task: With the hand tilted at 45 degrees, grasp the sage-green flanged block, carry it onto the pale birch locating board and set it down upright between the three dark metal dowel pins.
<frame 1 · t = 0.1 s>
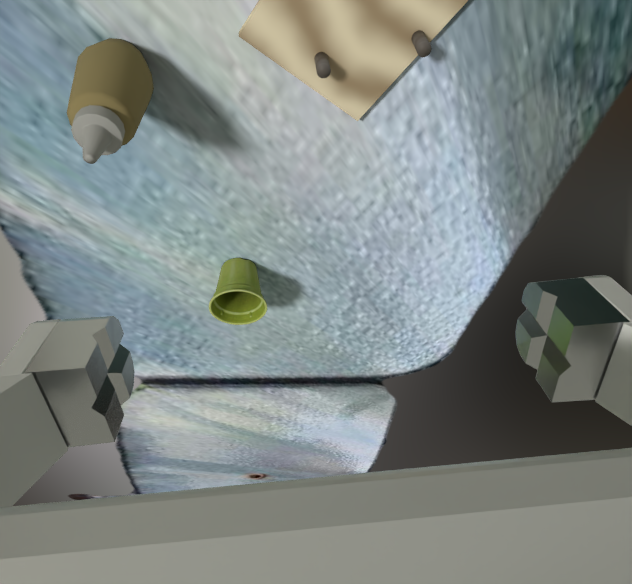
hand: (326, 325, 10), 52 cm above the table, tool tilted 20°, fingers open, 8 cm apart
squeeze bottle: (121, 62, 56), on the table
plant pot: (238, 268, 86), on the table
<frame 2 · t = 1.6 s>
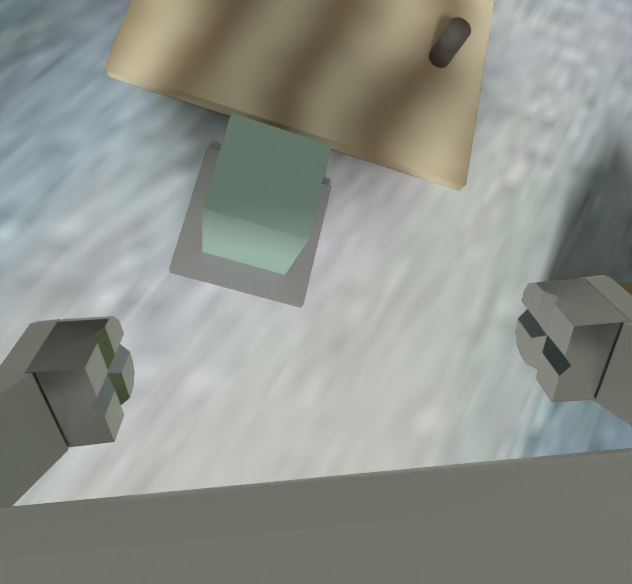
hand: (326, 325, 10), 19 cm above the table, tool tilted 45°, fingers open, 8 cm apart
flange block: (253, 230, 31), on the table
locating board: (322, 26, 34), on the table
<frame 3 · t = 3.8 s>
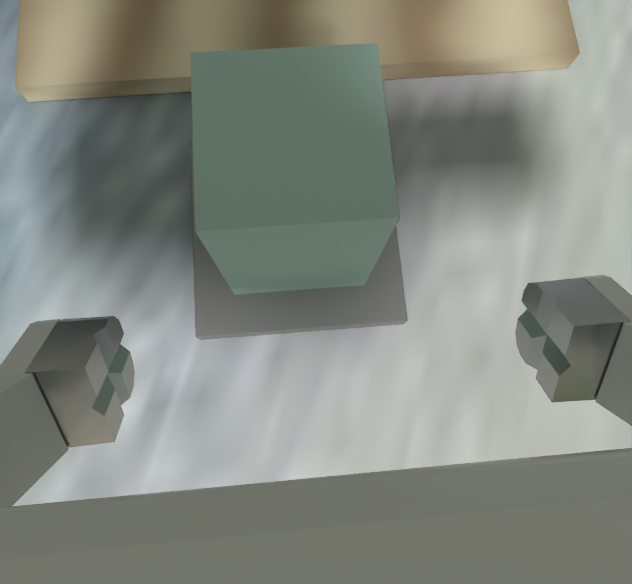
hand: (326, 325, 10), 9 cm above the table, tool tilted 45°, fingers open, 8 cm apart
flange block: (295, 236, 20), on the table
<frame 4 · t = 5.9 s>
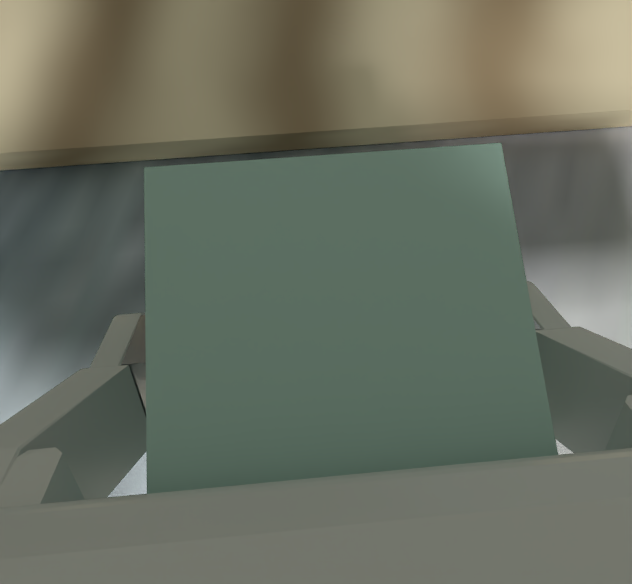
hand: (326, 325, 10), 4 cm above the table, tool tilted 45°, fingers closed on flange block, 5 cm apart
flange block: (322, 370, 14), on the table, touching gripper
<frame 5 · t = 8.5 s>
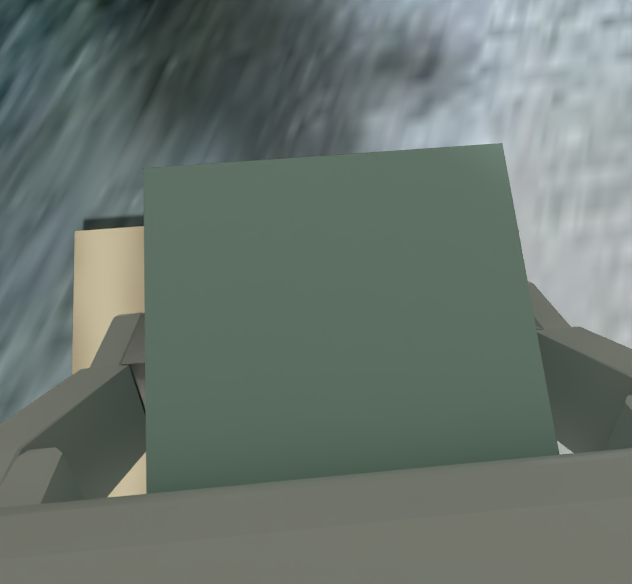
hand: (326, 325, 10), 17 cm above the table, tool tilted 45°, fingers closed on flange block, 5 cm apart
flange block: (322, 371, 14), point 13 cm above the table, touching gripper
locating board: (306, 377, 26), on the table
when the fingers open (7 cm above the table, at t = 11.3 s): flange block drops 1 cm, resting on locating board.
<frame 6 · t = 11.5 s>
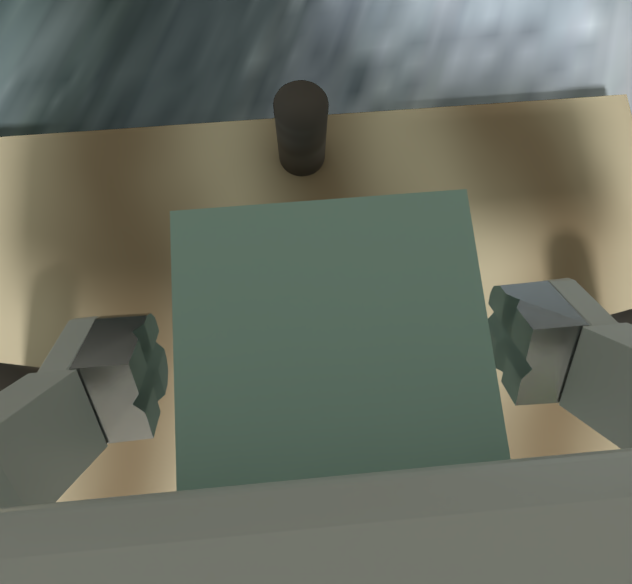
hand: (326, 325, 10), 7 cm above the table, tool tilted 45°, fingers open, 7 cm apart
flange block: (320, 374, 15), point 1 cm above the table, touching locating board
locating board: (320, 373, 16), on the table
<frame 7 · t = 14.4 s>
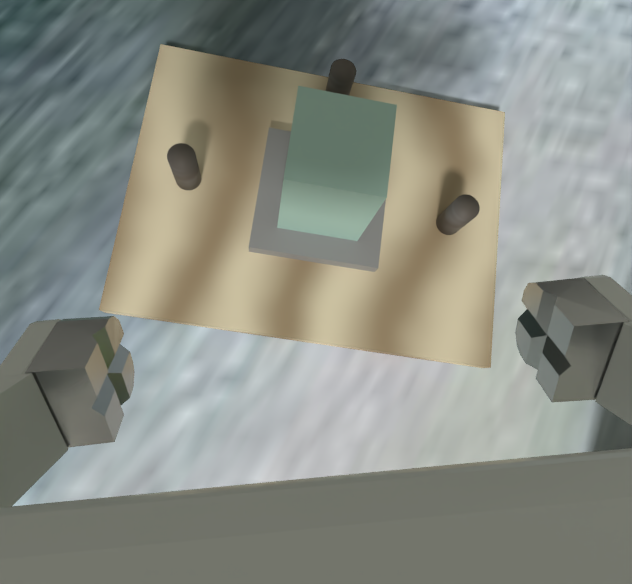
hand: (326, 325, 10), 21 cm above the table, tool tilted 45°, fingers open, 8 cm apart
flange block: (320, 202, 31), point 1 cm above the table, touching locating board
locating board: (319, 207, 32), on the table
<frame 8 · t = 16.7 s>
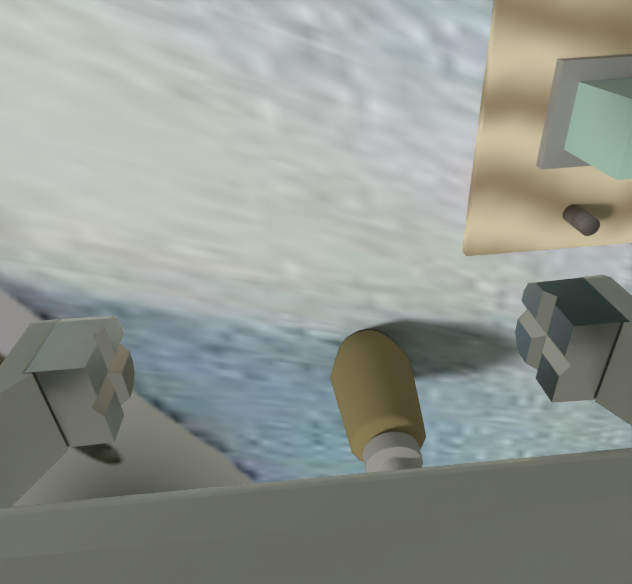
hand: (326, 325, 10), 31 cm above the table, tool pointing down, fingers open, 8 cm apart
flange block: (595, 111, 38), point 1 cm above the table, touching locating board
squeeze bottle: (365, 350, 51), on the table
locating board: (589, 109, 39), on the table
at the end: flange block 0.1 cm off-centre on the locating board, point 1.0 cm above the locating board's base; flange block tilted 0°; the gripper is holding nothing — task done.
